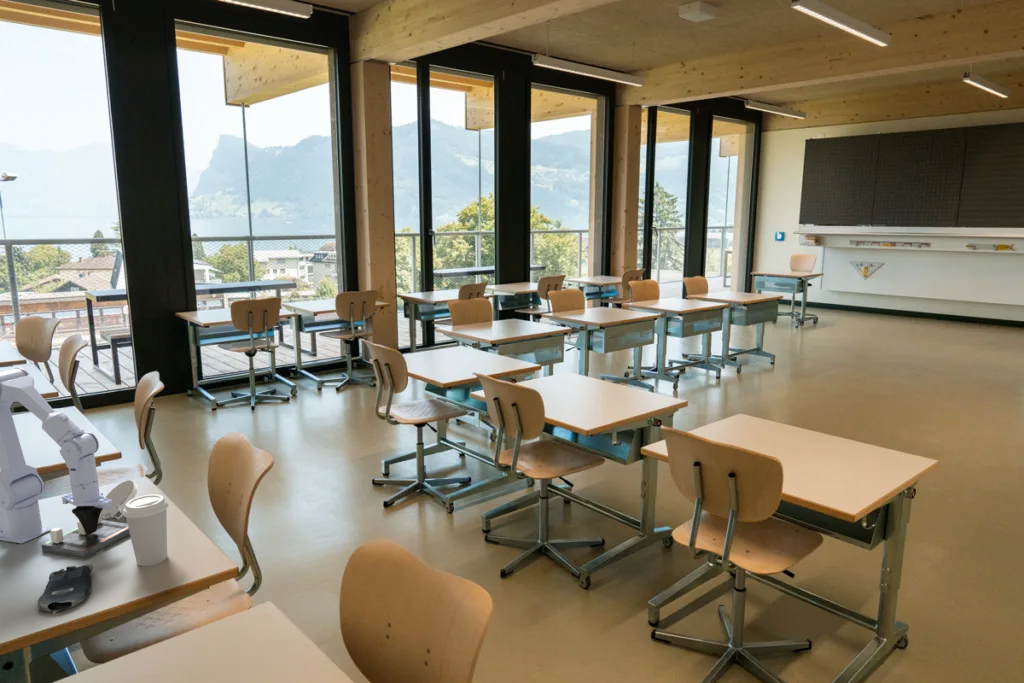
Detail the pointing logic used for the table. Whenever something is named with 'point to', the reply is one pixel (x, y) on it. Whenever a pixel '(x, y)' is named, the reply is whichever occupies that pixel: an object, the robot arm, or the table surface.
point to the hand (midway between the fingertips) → (91, 532)
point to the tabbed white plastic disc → (120, 499)
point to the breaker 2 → (100, 519)
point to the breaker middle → (80, 528)
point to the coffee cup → (148, 528)
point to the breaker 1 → (56, 535)
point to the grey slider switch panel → (88, 540)
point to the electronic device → (67, 587)
